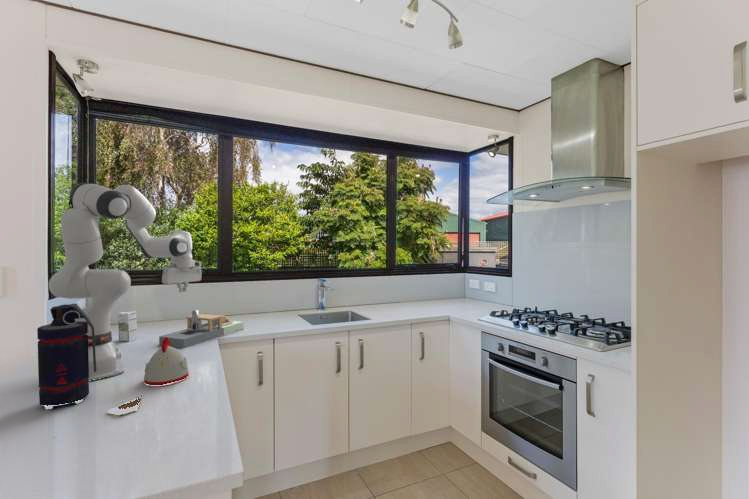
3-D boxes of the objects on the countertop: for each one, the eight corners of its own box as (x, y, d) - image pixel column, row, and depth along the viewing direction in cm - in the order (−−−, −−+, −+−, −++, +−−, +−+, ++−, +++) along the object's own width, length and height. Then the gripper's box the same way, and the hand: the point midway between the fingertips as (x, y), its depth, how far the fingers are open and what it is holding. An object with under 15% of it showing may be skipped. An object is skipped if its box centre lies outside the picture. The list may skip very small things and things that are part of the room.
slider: (200, 332, 185) (200, 311, 184) (185, 330, 188) (185, 310, 188) (233, 322, 206) (232, 304, 205) (219, 321, 209) (218, 303, 209)
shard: (141, 399, 117) (141, 394, 116) (159, 403, 114) (158, 398, 114) (105, 414, 106) (105, 408, 106) (124, 419, 104) (123, 413, 104)
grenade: (36, 414, 106) (33, 310, 105) (42, 400, 115) (39, 305, 115) (96, 402, 114) (94, 305, 113) (97, 389, 123) (95, 300, 123)
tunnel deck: (183, 347, 172) (183, 325, 172) (159, 344, 178) (159, 322, 178) (243, 328, 209) (243, 310, 209) (221, 326, 215) (221, 308, 215)
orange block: (218, 325, 199) (218, 317, 199) (211, 325, 201) (211, 317, 201) (225, 324, 204) (225, 315, 204) (218, 323, 206) (218, 315, 206)
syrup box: (137, 338, 189) (137, 310, 189) (128, 341, 183) (128, 312, 183) (127, 338, 190) (126, 310, 189) (118, 341, 184) (117, 312, 184)
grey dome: (138, 388, 124) (137, 344, 124) (151, 374, 138) (150, 334, 137) (183, 384, 128) (182, 341, 128) (192, 370, 141) (191, 332, 141)
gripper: (168, 264, 170) (168, 294, 170) (203, 262, 189) (204, 289, 189) (158, 264, 172) (158, 294, 172) (194, 262, 191) (194, 289, 191)
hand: (182, 291), depth 181 cm, fingers closed
